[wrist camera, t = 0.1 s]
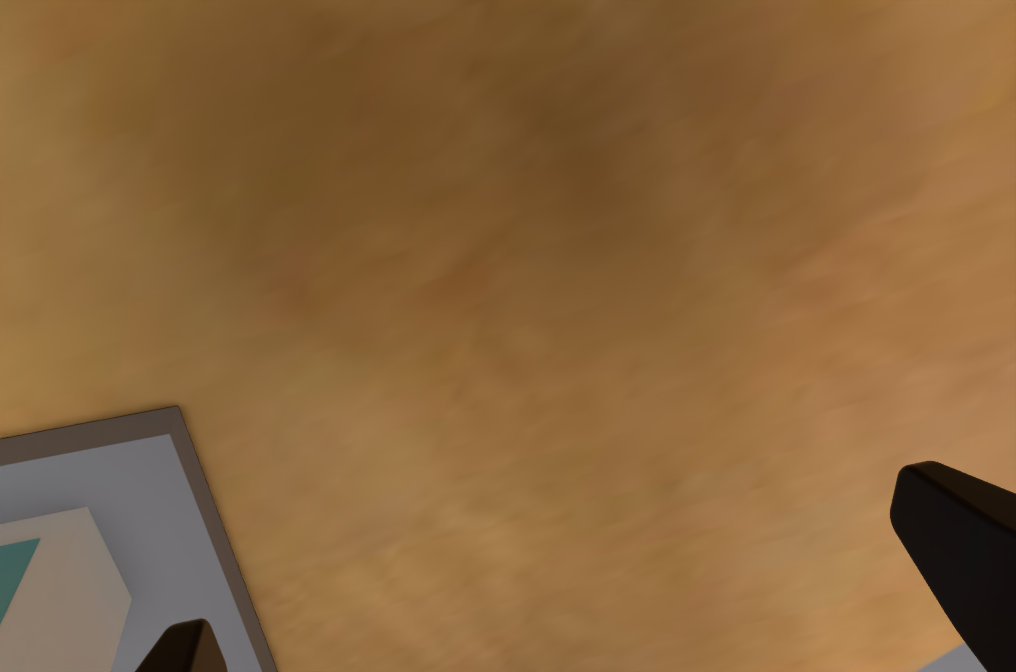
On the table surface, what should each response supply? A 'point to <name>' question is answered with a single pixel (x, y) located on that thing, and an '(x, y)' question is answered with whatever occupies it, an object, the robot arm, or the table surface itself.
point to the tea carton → (59, 595)
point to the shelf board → (142, 526)
